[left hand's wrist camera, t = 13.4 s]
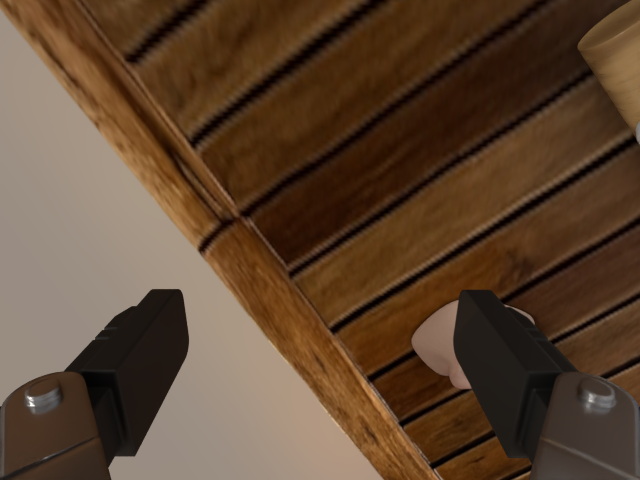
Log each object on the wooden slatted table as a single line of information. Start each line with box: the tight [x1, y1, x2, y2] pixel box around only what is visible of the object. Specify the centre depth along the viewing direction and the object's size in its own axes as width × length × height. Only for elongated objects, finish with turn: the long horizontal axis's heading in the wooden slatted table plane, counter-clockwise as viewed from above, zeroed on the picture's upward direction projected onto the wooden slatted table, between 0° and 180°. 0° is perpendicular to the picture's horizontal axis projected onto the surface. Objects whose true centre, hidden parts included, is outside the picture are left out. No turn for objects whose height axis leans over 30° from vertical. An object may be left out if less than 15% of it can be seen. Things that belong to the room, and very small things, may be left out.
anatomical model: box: [412, 300, 535, 389], centre depth 43 cm, size 13×4×12 cm
